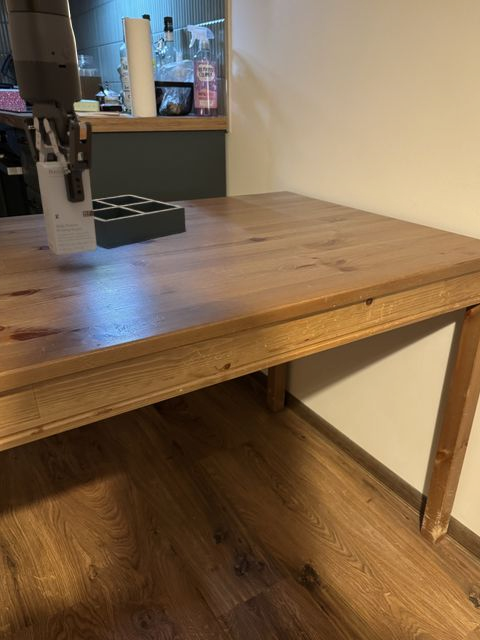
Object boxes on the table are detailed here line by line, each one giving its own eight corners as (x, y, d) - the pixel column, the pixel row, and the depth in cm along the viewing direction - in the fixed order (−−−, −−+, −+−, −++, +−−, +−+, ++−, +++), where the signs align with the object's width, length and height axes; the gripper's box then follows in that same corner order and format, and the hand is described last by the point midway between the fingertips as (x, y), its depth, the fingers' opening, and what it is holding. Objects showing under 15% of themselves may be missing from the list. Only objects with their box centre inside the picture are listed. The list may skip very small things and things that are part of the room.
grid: (55, 230, 95) (51, 205, 93) (132, 216, 106) (130, 194, 104) (107, 248, 85) (104, 221, 83) (185, 231, 96) (184, 207, 94)
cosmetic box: (56, 256, 70) (42, 166, 65) (47, 248, 74) (33, 161, 68) (99, 250, 74) (89, 164, 68) (89, 242, 77) (78, 159, 71)
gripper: (-10, 57, 64) (16, 194, 72) (46, 56, 56) (68, 211, 63) (45, 61, 69) (64, 188, 77) (104, 60, 61) (118, 203, 69)
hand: (66, 198), depth 70 cm, fingers closed on cosmetic box, 4 cm apart
